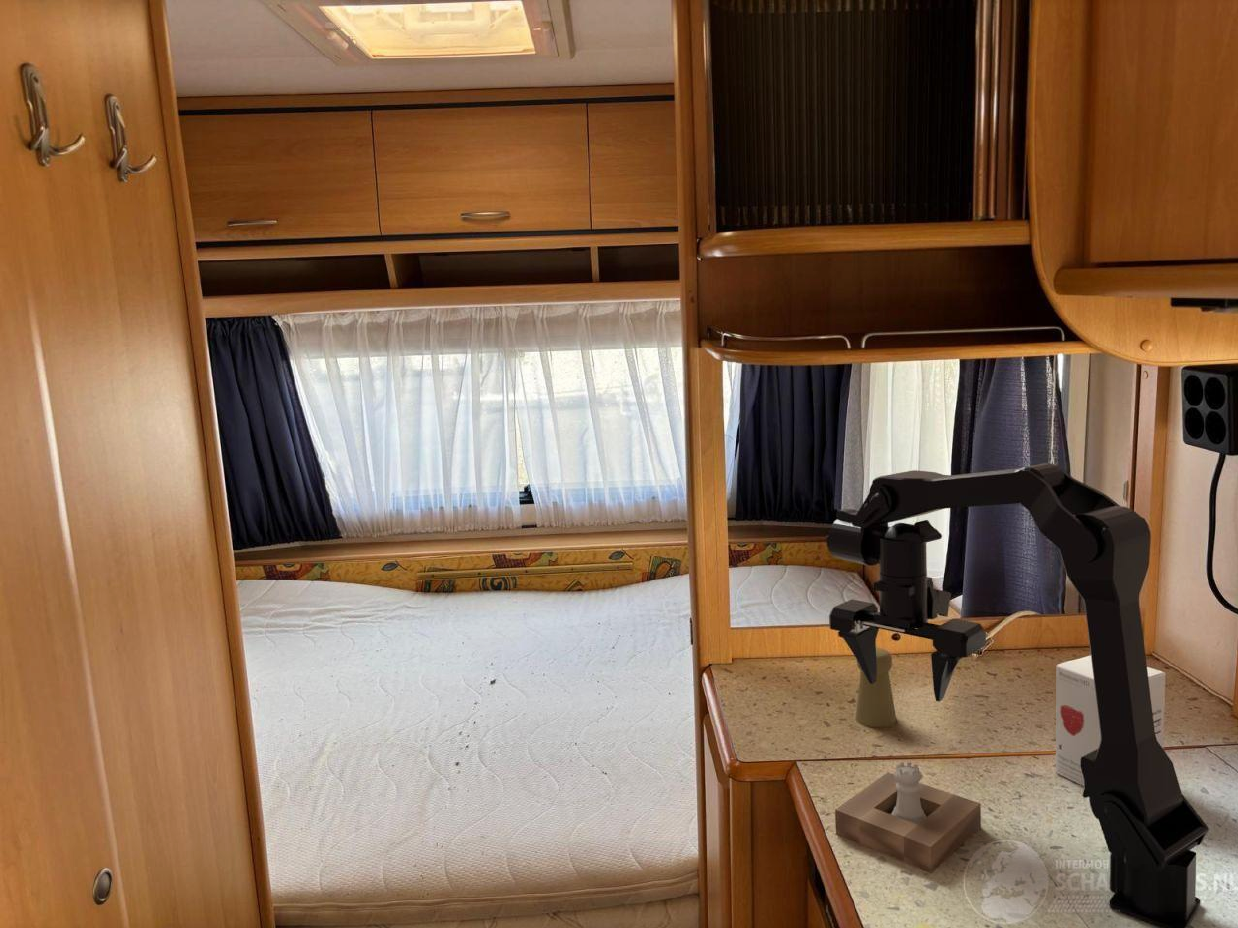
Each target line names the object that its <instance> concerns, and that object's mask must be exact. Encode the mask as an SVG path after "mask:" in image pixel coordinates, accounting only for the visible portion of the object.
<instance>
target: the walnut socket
mask: <svg viewBox="0 0 1238 928" xmlns="http://www.w3.org/2000/svg"><path fill="white" fill-rule="evenodd" d="M897 783H898V781H897V779H896V778H895V777H894V775H893V773H891V772H889V771H888V772H886V773H884V774H883V775H882V776H880V777H878V779H876V780H875V781H873V782H872V783H870V784H869V785H868V786H866V787H865V788H863V789H861V790H860V791H859V792H858V793H856V794H855V795H853V796H852V797H851V798H849V799H847V800H846V801H845V802H844V803H842V804H841V805H839V806H838V807H837V808H835V809H834V817H835V819H834V821H835V822H834V823H835V824H834V825H835V835H838V836H841V837H843V838H846V839H847V840H848V839H849V840H851V841H853V842H855V843H859V844H861V845H863V846H865V847H868V848H870V849H873V850H875V851H878V852H880V853H882V854H884V855H887V856H890V857H892V858H893V859H897V860H900V861H901V862H904V863H907V864H909V865H911V866H914V867H916V868H919V869H921V870H923V871H926V872H929V873H933V872H934V871H935V870H936V869H937V868H939V866H940V865H942V864H943V863H944V862H945V861H946V860H947V859H948V858H949V857H950V856H952V854H954V853H955V852H956V851H957V850H958V849H959V848H961V846H963V844H965V843H966V841H968V840H969V839H970V838H971V837H972V836H973V835H974V834H976V833H977V832H978V830H980V829H981V828H982V818H981V817H982V815H981V812H982V809H981V808H982V807H981V802H977V801H975V800H971V799H969V798H966V797H963V796H960V795H956V794H954V793H950V792H948V791H945V790H942V789H939V788H936V787H933V786H930V785H927V784H924V783H921V782H919V785H920V787H921V789H920V791H919V798H920V803H921V808H922V809H923V811H924V814H925V815H926V818H925V819H924V820H923V821H922V822H920V823H919V824H915V823H912V822H910V821H907V820H904V819H902V818H899V817H896V816H894V815H891V813H892V812H893V810H894V807H896V803H897V795H898V793H897V788H896V784H897Z"/></svg>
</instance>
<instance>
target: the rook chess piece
mask: <svg viewBox="0 0 1238 928" xmlns="http://www.w3.org/2000/svg"><path fill="white" fill-rule="evenodd" d="M898 763H899V764H896V769H895V770H894V771H893V773H892V774H893V775H894V777H895V778H896V779H897V781H898V783H897V784H896V788H897V793H898V795H897V803H896V807H894V810H893V812H892V813H891V815H894V816H896V817H899V818H902V819H904V820H907V821H910V822H912V823H915V824H919V823H920V822H922V821H923V820H924V819H925V818H926V815H925V814H924V811H923V809H922V808H921V803H920V798H919V791H920V789H921V787H920V785H919V783H920V781H921V780H922V779H923V777H924V776H923V774H922V772H921V771H920V767H919V765H918V764H915V763H914V764H913V766H912V762H909V761H906V765H905V764H904V762H903V761H902V762H898Z"/></svg>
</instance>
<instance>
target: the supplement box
mask: <svg viewBox="0 0 1238 928" xmlns="http://www.w3.org/2000/svg"><path fill="white" fill-rule="evenodd" d="M1147 672H1148V680H1149V688H1150V697H1151V705H1152V713H1153V721H1154V730H1155V736H1156V739H1157V741H1158V743H1159V744H1160V745H1161V747H1162V748H1163V749H1164V740H1165V739H1164V737H1165V736H1164V734H1165V733H1164V732H1165V708H1166V707H1165V697H1166V675H1167V673H1166V672H1164V671H1162V670H1158V669H1155V668H1153V667H1149V666H1147ZM1055 688H1056V691H1055V692H1056V696H1055V697H1056V701H1055V702H1056V703H1055V704H1056V707H1055V708H1056V709H1055V710H1056V713H1055V714H1056V715H1055V721H1056V722H1055V726H1056V727H1055V774H1058V775H1059V776H1062V777H1063V778H1066V779H1067V780H1069V781H1072V782H1074V783H1076V784H1078V785H1080V786H1082V787H1084V777H1083V774H1082V770H1081V757H1083V756H1085V755H1087V754H1088V753H1090V752H1092V751H1094V750H1096V749H1098V748H1099V745H1100V741H1101V734H1100V726H1099V718H1098V710H1097V702H1096V693H1095V685H1094V677H1093V669H1092V661H1091V654H1090V655H1087V656H1084V657H1081V658H1077V659H1073V660H1069V661H1064V662H1061V663H1059V664H1056V685H1055Z"/></svg>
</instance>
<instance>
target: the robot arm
mask: <svg viewBox="0 0 1238 928" xmlns="http://www.w3.org/2000/svg"><path fill="white" fill-rule="evenodd" d="M1012 504H1020V505H1022V506H1023V507H1024V508H1025V509H1026V510H1027V511H1028V512H1029V514H1030V516H1031V518H1032V519H1033V521H1034V523H1035V525H1036V526H1037V529H1038V531H1039V532H1040V533H1041V534H1042V535H1043V536H1044V537H1046V538H1047V539H1048V540H1049V541H1050V542H1051V543H1052V544H1053V545H1054V546H1056V547H1057V548H1058V550H1059V554H1060V558H1061V560H1062V563H1063V567H1064V570H1065V574H1066V577H1067V578H1068V580H1069V581H1070V582H1071V584H1072V585H1073V587H1074V589H1076V591H1077V592H1078V594H1079V595H1080V597H1081V598H1082V601H1083V604H1084V609H1085V618H1086V626H1087V627H1086V628H1087V634H1088V635H1087V636H1088V643H1089V650H1090V651H1089V652H1090V655H1091V661H1092V669H1093V677H1094V685H1095V693H1096V702H1097V710H1098V718H1099V726H1100V734H1101V741H1100V745H1099V748H1098V749H1096V750H1094V751H1092V752H1090V753H1088V754H1087V755H1085V756H1083V757H1081V770H1082V774H1083V777H1084V786H1083V788H1084V789H1083V792H1082V797H1083V798H1084V799H1087V798H1089V805H1090V806H1089V807H1090V809H1091V812H1092V814H1093V816H1094V817H1095V819H1097V820H1098V822H1099V824H1100V828H1101V831H1102V835H1103V836H1104V840H1105V843H1106V847H1107V849H1108V852H1109V853H1110V855H1109V859H1110V860H1109V890H1110V892H1111V893H1113V895H1112V897H1111V898H1110V899H1109V901H1108V903H1109V904H1108V905H1109V907H1110V908H1111V909H1113V910H1116V911H1118V912H1121V913H1124V914H1127V915H1129V916H1131V917H1135V918H1136V919H1139V920H1142V921H1144V922H1147V923H1150V924H1153V925H1155V926H1158V927H1160V928H1188V927H1189V925H1190V923H1191V922H1192V920H1193V918H1195V915H1196V913H1197V912H1198V910H1199V908H1200V907H1201V899H1200V898H1198V897H1196V884H1197V883H1196V881H1197V852H1195V851H1193V849H1194V848H1195V847H1196V846H1200V845H1201V844H1202V843H1203V842H1204V840H1205V839H1206V837H1207V835H1208V833H1209V831H1210V829H1209V826H1208V825H1207V824H1206V822H1205V821H1204V819H1203V818H1202V817H1201V816H1200V815H1199V813H1198V812H1197V811H1196V810H1195V809H1194V807H1193V806H1192V805H1191V804H1190V802H1189V801H1188V800H1187V798H1186V797H1185V796H1184V795H1183V793H1182V789H1181V786H1180V783H1179V780H1178V776H1177V773H1176V770H1175V766H1174V762H1173V761H1172V760H1171V758H1170V757H1169V755H1168V754H1167V752H1166V751H1165V750H1164V747H1163V748H1162V747H1161V745H1160V744H1159V743H1158V741H1157V739H1156V736H1155V730H1154V721H1153V713H1152V705H1151V697H1150V688H1149V680H1148V672H1147V667H1148V665H1147V656H1146V650H1145V649H1146V647H1145V642H1144V641H1145V640H1144V639H1145V638H1144V631H1143V624H1142V623H1143V622H1142V615H1141V607H1140V594H1141V590H1142V588H1143V585H1144V581H1145V578H1146V575H1147V573H1148V570H1149V566H1150V557H1151V556H1150V555H1151V554H1150V553H1151V539H1152V538H1151V536H1152V535H1151V530H1150V526H1149V523H1148V522H1147V520H1146V519H1145V518H1144V517H1141V515H1140V514H1139V513H1137V512H1136V511H1135V510H1133V509H1131V508H1129V507H1126V506H1121V505H1120V504H1119V503H1118V502H1116V501H1115V500H1113V498H1111V497H1110V496H1109V495H1107V494H1105V493H1104V492H1102V491H1100V490H1097V489H1096V488H1093V487H1091V486H1090V485H1087V484H1086V483H1083V482H1081V481H1080V480H1078V479H1076V478H1074V477H1073V476H1072V475H1070V474H1069V473H1068V472H1067V471H1065V470H1064V469H1063V468H1061V467H1060V466H1058V465H1055V464H1053V463H1051V462H1048V463H1047V462H1044V463H1039V464H1034V465H1028V466H1024V467H1018V468H1007V469H999V470H990V471H982V472H981V471H980V472H974V473H973V472H972V473H963V474H953V475H950V474H942V473H938V472H936V471H928V470H917V469H916V470H915V469H913V470H909V471H908V470H907V471H902V472H896V473H890V474H886V475H881V476H877V477H875V478H874V479H873V480H872V483H871V485H870V487H869V491H868V494H867V496H866V498H865V500H864V501H863V503H862V505H861V506H860V508H859V509H858V510H857V509H853V508H845V509H844V508H843V509H839V510H837V512H836V514H837V515H836V518H837V519H836V520H834V521H833V523H832V524H831V526H830V527H829V529H828V532H827V535H826V538H825V539H826V540H825V541H826V547H827V550H828V552H829V554H830V556H832V557H833V558H836V559H839V560H844V561H847V562H851V563H857V564H860V565H865V566H869V567H870V566H871V567H873V566H876V565H878V579H877V580H876V581H873V591H877V592H879V608H878V607H877V606H876V603H873V602H868V601H862V600H858V599H850V600H847V601H845V602H843V603H841V604H839V605H836V606H834V607H833V608H831V610H830V612H829V615H828V623H829V624H828V627H829V629H830V630H832V631H837V637H839V638H843V640H844V642H845V643H846V645H847V647H848V648H849V649H850V651H851V653H853V655H854V657H855V659H856V662H857V661H858V663H859V665H860V666H861V668H862V670H863V672H864V674H865V676H866V678H867V680H868V682H869V683H870V684H874V683H875V682H876V677H877V661H876V647H877V646H876V645H877V644H876V641H877V637H878V633H879V630H884V631H888V632H893V633H900V634H904V635H908V636H913V637H918V638H923V639H928V640H932V647H934V648H935V650H936V651H934V652H932V653H931V654H930V661H931V672H932V683H933V684H932V687H933V693H934V698H935V701H936V702H939V703H940V702H941V701H943V700H944V697H945V695H946V692H947V690H948V686H949V684H950V681H951V679H952V676H953V673H954V671H955V669H956V667H957V665H958V663H959V662H960V660H962V659H963V658H967V657H969V656H971V655H972V654H975V653H976V652H978V651H979V650H981V649H982V648H984V647H986V646H987V632H986V631H985V629H984V627H983V626H982V625H981V623H979V622H976V621H975V622H974V621H968V620H964V619H958V618H954V617H953V618H951V619H949V620H948V621H946V622H944V623H942V624H936V623H931V622H929V620H934V619H936V618H938V615H939V616H941V617H946V618H948V615H949V608H950V602H951V597H952V596H951V595H952V593H951V592H948V591H944V590H940V589H936V588H934V580H933V577H929V576H928V571H927V570H928V567H927V566H928V564H927V561H928V560H927V543H929V542H934V541H935V542H936V541H938V540H939V541H940V540H941V539H942V538H943V534H942V533H941V532H940V531H939V530H938V529H937V528H935V527H934V526H933V525H932V524H931V523H930V520H928V519H925V520H921V521H916V522H914V523H908V522H907V523H906V522H898V523H895V524H893V525H892V526H889V523H893V522H897V521H903V520H907V519H911V518H915V517H916V518H917V517H920V516H924V515H928V514H930V513H935V512H938V511H942V510H945V509H956V508H957V509H958V508H972V507H973V508H974V507H985V506H986V507H987V506H1000V505H1001V506H1002V505H1012Z"/></svg>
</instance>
